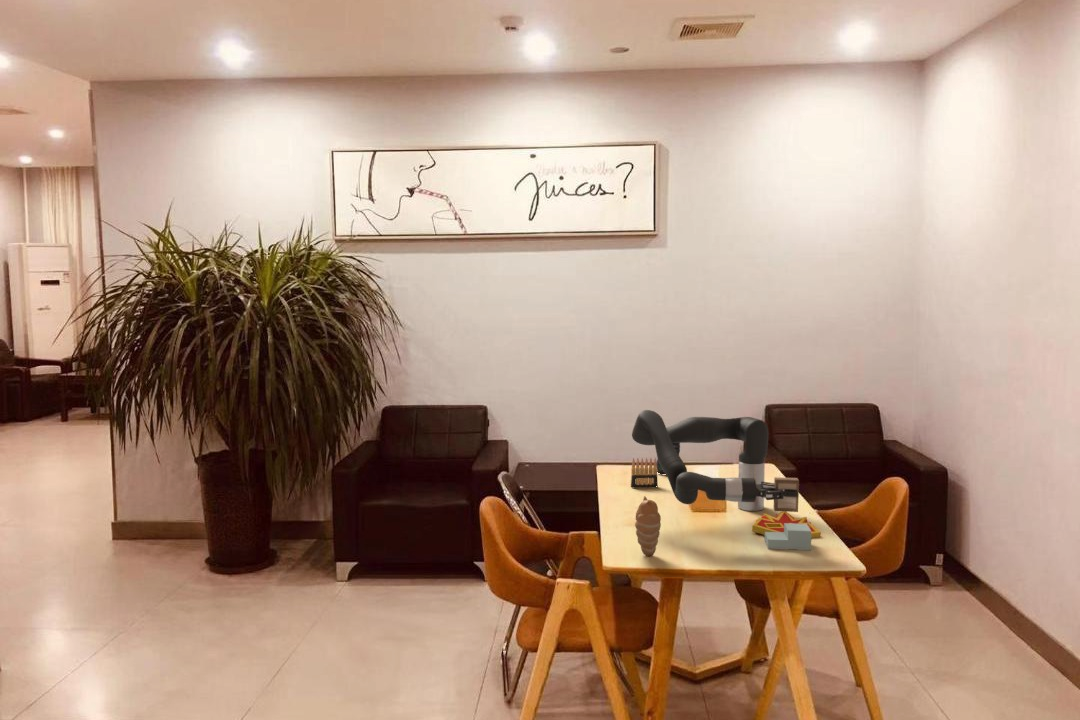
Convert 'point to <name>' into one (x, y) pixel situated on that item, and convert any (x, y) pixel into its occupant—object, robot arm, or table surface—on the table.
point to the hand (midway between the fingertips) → (795, 491)
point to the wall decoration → (780, 524)
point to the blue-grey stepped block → (790, 537)
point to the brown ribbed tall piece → (648, 526)
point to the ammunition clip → (644, 474)
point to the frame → (787, 502)
